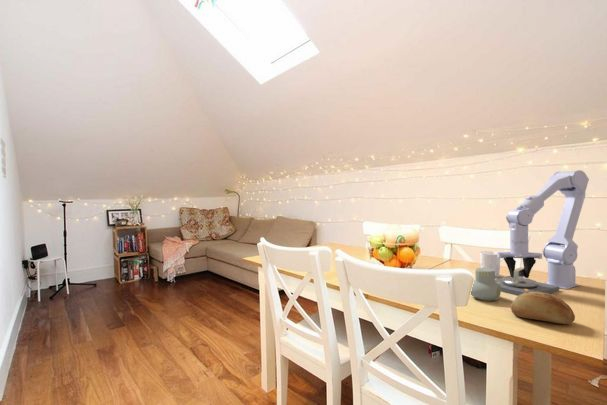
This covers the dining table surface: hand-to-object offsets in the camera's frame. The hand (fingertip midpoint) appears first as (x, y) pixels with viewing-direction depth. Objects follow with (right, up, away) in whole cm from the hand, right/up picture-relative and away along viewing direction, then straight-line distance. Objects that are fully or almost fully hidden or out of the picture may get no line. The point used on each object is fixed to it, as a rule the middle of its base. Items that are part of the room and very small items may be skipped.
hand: (519, 277), depth 125 cm
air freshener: (-18, -5, -10) cm, 21 cm away
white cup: (0, -4, +19) cm, 20 cm away
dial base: (0, -4, 0) cm, 4 cm away
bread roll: (-13, -6, -30) cm, 33 cm away
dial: (0, -3, 0) cm, 3 cm away
